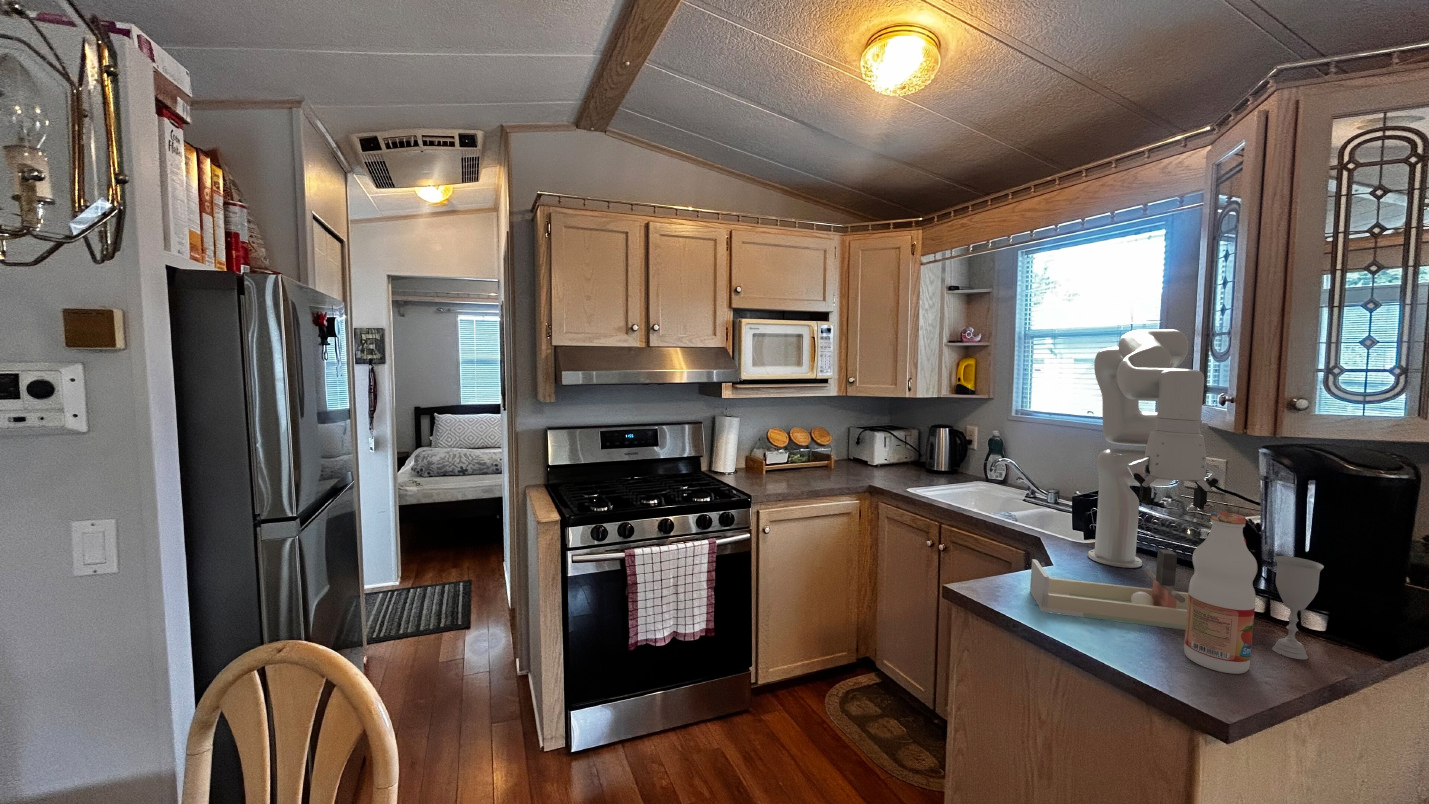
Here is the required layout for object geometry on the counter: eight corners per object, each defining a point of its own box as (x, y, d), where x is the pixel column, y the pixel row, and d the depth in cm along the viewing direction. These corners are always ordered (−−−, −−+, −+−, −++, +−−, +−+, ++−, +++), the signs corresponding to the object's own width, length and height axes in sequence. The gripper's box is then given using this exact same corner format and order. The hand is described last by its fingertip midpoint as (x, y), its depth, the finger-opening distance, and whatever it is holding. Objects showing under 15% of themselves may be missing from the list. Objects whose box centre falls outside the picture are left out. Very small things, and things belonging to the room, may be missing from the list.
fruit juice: (1175, 645, 117) (1187, 506, 115) (1235, 655, 114) (1248, 511, 111) (1194, 668, 108) (1207, 518, 106) (1259, 679, 105) (1274, 524, 103)
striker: (1141, 595, 138) (1146, 540, 137) (1153, 597, 138) (1158, 541, 136) (1172, 625, 123) (1178, 563, 122) (1186, 626, 122) (1191, 564, 121)
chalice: (1267, 640, 120) (1275, 553, 119) (1314, 652, 115) (1324, 562, 114) (1264, 652, 115) (1273, 561, 113) (1314, 666, 110) (1324, 571, 109)
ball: (1127, 604, 134) (1128, 587, 134) (1148, 607, 133) (1149, 589, 132) (1134, 612, 130) (1135, 594, 130) (1155, 614, 129) (1157, 596, 129)
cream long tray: (1030, 591, 143) (1032, 559, 142) (1187, 610, 134) (1189, 575, 133) (1042, 611, 132) (1044, 576, 131) (1214, 633, 123) (1217, 595, 122)
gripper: (1216, 427, 128) (1210, 505, 129) (1124, 423, 133) (1119, 498, 134) (1236, 431, 121) (1229, 513, 122) (1137, 426, 126) (1132, 506, 127)
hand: (1171, 505), depth 128 cm, fingers open, 9 cm apart
